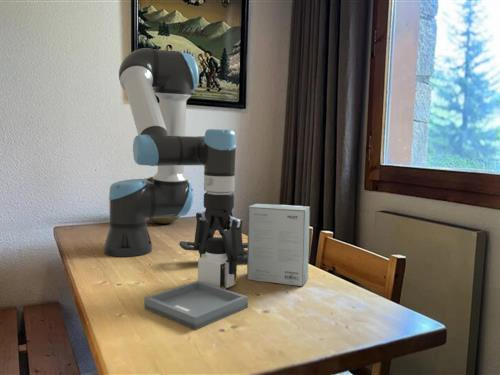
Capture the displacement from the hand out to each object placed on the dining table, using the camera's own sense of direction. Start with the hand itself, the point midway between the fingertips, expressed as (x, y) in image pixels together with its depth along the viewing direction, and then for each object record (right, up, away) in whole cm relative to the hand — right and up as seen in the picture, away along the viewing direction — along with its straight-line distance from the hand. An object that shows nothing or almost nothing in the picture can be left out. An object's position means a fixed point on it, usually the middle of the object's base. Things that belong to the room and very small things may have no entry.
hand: (217, 281), depth 112 cm
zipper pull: (-1, +1, +23) cm, 23 cm away
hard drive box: (+16, -1, +8) cm, 18 cm away
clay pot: (-29, +8, +82) cm, 87 cm away
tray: (-3, -3, -14) cm, 15 cm away
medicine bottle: (0, -1, 0) cm, 1 cm away
